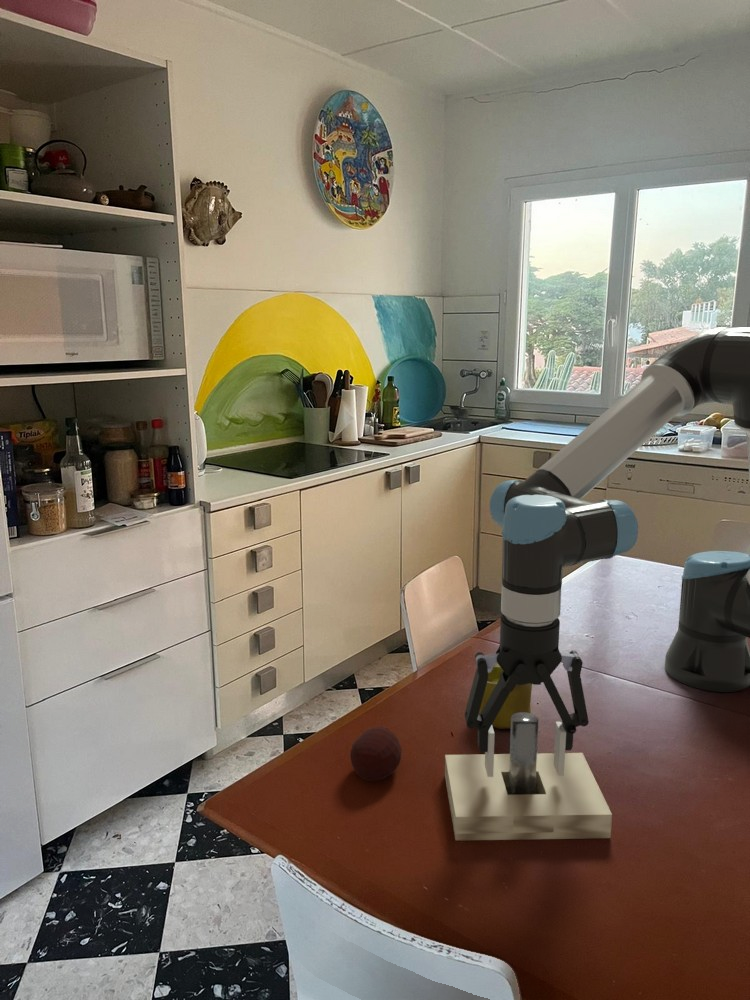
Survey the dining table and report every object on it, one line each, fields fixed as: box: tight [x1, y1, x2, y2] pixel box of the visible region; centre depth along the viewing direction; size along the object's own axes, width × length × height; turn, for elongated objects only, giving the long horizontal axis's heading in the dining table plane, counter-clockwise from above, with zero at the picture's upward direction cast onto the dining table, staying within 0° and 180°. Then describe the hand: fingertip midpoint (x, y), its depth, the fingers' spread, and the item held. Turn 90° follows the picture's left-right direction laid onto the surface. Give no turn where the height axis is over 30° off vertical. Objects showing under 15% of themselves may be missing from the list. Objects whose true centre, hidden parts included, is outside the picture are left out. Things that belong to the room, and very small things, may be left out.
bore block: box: [444, 752, 613, 842], centre depth 105 cm, size 20×14×4 cm
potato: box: [350, 726, 402, 782], centre depth 113 cm, size 7×10×6 cm
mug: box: [478, 663, 533, 730], centre depth 128 cm, size 12×10×10 cm
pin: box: [508, 712, 539, 795], centre depth 104 cm, size 4×4×12 cm
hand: (523, 770), depth 104 cm, fingers open, 9 cm apart
